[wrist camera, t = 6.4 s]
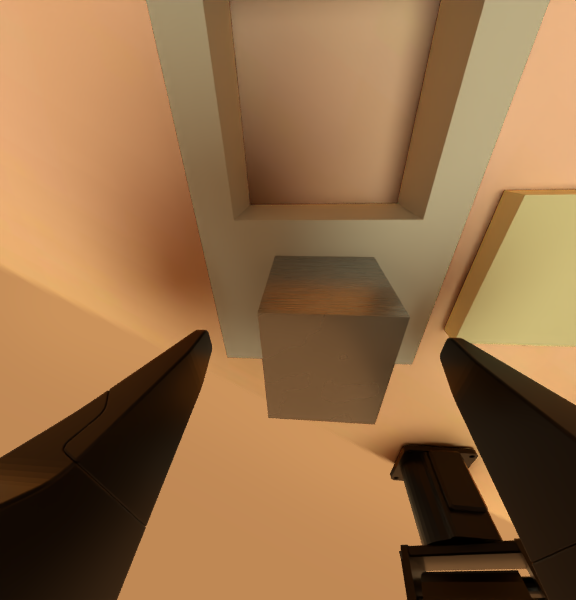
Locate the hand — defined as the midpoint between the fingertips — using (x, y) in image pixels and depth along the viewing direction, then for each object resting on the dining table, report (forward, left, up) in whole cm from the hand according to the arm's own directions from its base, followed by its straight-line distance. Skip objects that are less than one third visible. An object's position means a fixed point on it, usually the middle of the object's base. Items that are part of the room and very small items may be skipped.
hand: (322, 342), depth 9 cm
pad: (+1, -12, -5) cm, 13 cm away
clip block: (0, 0, -2) cm, 2 cm away
